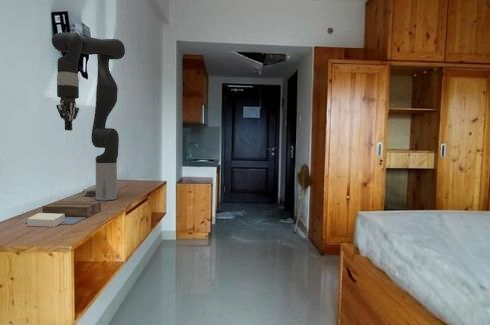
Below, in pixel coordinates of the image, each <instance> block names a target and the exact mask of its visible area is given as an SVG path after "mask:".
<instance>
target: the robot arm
mask: <svg viewBox="0 0 490 325" xmlns="http://www.w3.org/2000/svg"><path fill="white" fill-rule="evenodd" d="M51 43H52V46H53V48H54V49H55V50H56V51H58V52H61V53H66V54H65V55H63V56H61V57H58V58H57V62H56V63H57V64H56V65H57V75H56V96H57V98H60V101H59V103H58V104H55V105H56V109H57V112H58V114H59V116H60V119H63V121H64V130H65V131H70V132H71V131H73V121H74V120H76V119H77V116H78V114H79V111H80V108H79V107H77V106H76V105H77V102H76V100H77V99H79V97H80V89H79V88H80V82H79V79H80V78H79V61H80V57H81V54H84V55H97V80H96V90H95V108H94V118H93V123H92V129H91V144H92V146H94V147H95V148H99V149H103V148H104V151H103V153H101V154H99V155H97V156H96V157H95V185H96V196H95V200H96V201H115V200H117V199H118V165H117V164H118V163H117V162H118V157H119V148H120V147H119V146H120V144H119V143H120V139H119V138H120V136H119V132H118V131H117V129H115V128H110V127H106V125H107V124H106V123H107V120H108V117H109V115H110V113H111V112H112V111H113V110H114V108H115V106H116V104H117V100H118V85H117V82H116V80H115V79H114V77H113V76H112V74H111V70H110V60H121V59H123V58H124V57H125V55H126V54H125V53H126V49H125V48H126V47H125V44H124V43H123V42H122V41H121V40H120V39H117V38H103V39H101V38H97V37H91V36H86V35H83V34H82V35H80V34H78V32H75V31H69V32H67V31H66V32H65V31H64V32H56V33H54V35H53V36H52V37H51Z"/></svg>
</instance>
